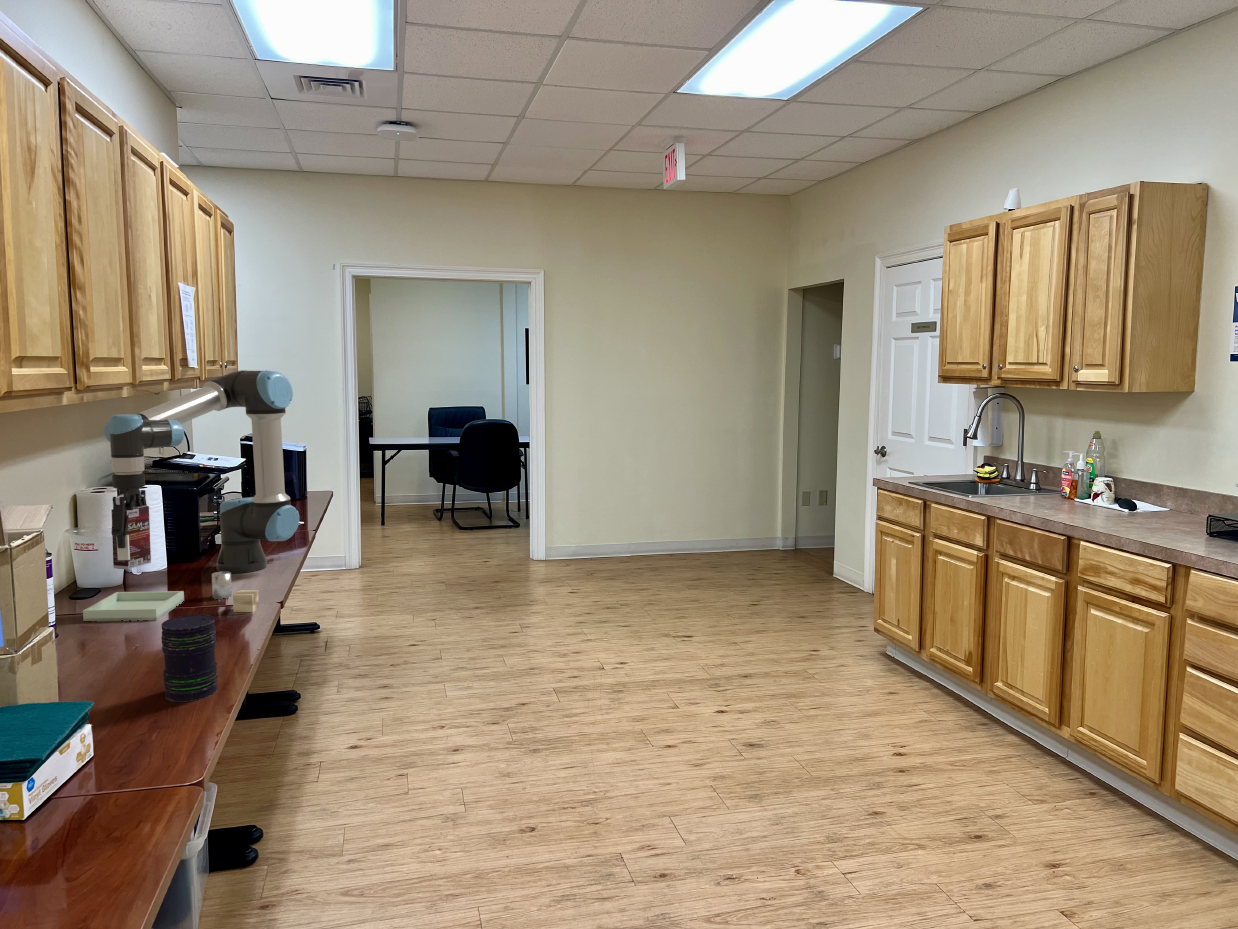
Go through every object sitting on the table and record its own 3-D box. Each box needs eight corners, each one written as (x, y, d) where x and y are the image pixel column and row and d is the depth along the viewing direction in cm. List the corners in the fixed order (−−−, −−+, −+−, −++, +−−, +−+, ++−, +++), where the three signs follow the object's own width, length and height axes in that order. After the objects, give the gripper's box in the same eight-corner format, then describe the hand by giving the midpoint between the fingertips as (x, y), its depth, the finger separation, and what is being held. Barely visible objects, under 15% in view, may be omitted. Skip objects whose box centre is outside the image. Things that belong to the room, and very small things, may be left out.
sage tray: (116, 602, 238) (116, 592, 238) (184, 601, 240) (183, 591, 240) (83, 621, 220) (82, 610, 220) (156, 620, 222) (156, 609, 222)
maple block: (240, 608, 235) (239, 590, 234) (258, 607, 235) (258, 590, 235) (233, 613, 230) (232, 595, 229) (252, 613, 230) (252, 595, 230)
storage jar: (168, 706, 167) (164, 632, 165) (160, 690, 175) (156, 619, 173) (223, 695, 173) (220, 623, 171) (213, 680, 181) (210, 611, 179)
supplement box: (128, 569, 224) (125, 510, 222) (112, 568, 225) (109, 509, 223) (152, 562, 232) (149, 505, 231) (137, 561, 233) (134, 504, 232)
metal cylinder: (216, 595, 247) (215, 571, 246) (234, 594, 248) (233, 571, 247) (210, 599, 242) (209, 575, 241) (228, 599, 243) (227, 575, 242)
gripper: (132, 467, 236) (136, 547, 239) (92, 477, 215) (97, 565, 217) (160, 467, 237) (164, 547, 240) (123, 477, 215) (128, 564, 218)
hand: (132, 555), depth 228 cm, fingers closed on supplement box, 9 cm apart
